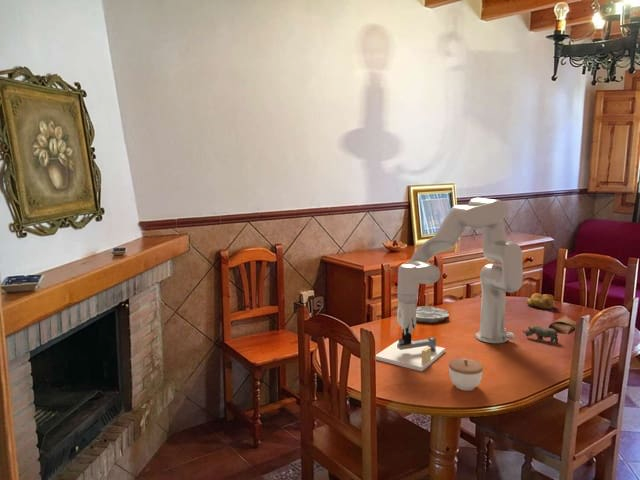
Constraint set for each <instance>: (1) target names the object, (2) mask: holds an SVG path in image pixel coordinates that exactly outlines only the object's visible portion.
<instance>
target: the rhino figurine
mask: <svg viewBox="0 0 640 480" xmlns="http://www.w3.org/2000/svg"><path fill="white" fill-rule="evenodd" d="M527 328H528V330H527V329H526V330H525V331H524V329H523V330H522V332H523V333H524V335H526V337H531V336H533V335H534V334H535V335H536V337H537V339H536V340H535V341H536V342H540V341H543V340H544V338H545V339H547V338H549V339H550V341H548V344H549V345H553V344H559V338H558V333H557V331H556V330H555V329H551V328H549V327H542V326H540V325H535V326H531V325H529V326H528V327H527Z"/></svg>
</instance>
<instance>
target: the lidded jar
mask: <svg viewBox="0 0 640 480" xmlns="http://www.w3.org/2000/svg"><path fill="white" fill-rule="evenodd" d="M483 370H484V366H483V364H482V363H481V362H480V361H477V360H475V359H471V358H468V357H467V358H465V357H459V358H458V357H457V358H454V359H451V360H450V361H448V372H449V378H450V380H451V382H452V384H453V385H454V387H456V388H457V389H458V390H461V391H467V392H469V391H473V390H474V389H475V388H476V387H477V386H478V385H480V383H481V381H482V377H483Z"/></svg>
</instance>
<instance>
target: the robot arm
mask: <svg viewBox="0 0 640 480" xmlns="http://www.w3.org/2000/svg"><path fill="white" fill-rule="evenodd" d="M508 209H509V208H508V205H507V204H506V202H504V201H503V200H500V199H496V198H495V199H493V198H485V197H474V198H472V199H470V200H469V201H468V204H467V205H464V204H457V205H454V206H452V207H451V208H450V210H449V211H448V212H447V214H446V216H445V218H444V219H443V221H442V222H441V224H440V226H439V227H438V229H437V230H436V232H435V234H434V235H433V236H432V237H430V238H429V239H427V240H426V241H425V242H424V243H422V244H421V245H420V246H419V247H418V248H416V250H415V252H414V253H413V255H412V256H411V258H410V260H409V262H408V263H403V264H401V265H399V266H398V269H397V270H398V271H397V313H396V321H397V324H398V325H399V326H400V327H401V332H402V333H401V338H402V339H404V343H405V342H411V341H412V335H413V332H414V331H413V330H414V329H416V327H417V320H416V309H417V303H418V302H419V301H418V300H419V284H421V285H423V284H424V285H425V284H426V285H427V284H428V285H431V284H434V283H436V282H438V281H439V279H440V278H441V271H440V269H439V267H437V266H436V265H435V264H433V263H429V261H430V260H431V259H432V258H433V257H434V256H435V255H437V254H439V253H441V252H445V251H447V250H451V249H453V248H454V247H455V246H456V244H457V243H458V241H459V239H460V237H461V236H462V235H463V232H464V231H465V230H466V229H471V230H478V229H482V231H481V232H482V251H483V252H482V253H483V257H484V258H485V259H486V260H487V261H490V262H493V263H487V264H485V265H484V266H482V268H481V269H480V273H479V280H480V286H481V300H480V301H481V302H480V303H481V304H480V320H479V321H480V322H479V324H480V325H479V331H478V332H476V333H475V338H476V339H477V340H479V341H481V342H484V343H488V344H503V343H506V342H507V341H508V339H510V340H515V337H516V336H515V334H514V333H513V332H508V331H507V328H506V327H505V322H506V304H507V298H506V297H507V296H506V292H507V293H516V292H517V291H519V289H521V286H522V284H523V275H524V274H523V272H524V270H523V265H524V264H523V251H522V249H521V247H520V246H519V244H517V242H514V241H511V240H507V239H506V231H505V229H506V228H505V224H504V223H505V222H504V219H505V218H506V217H507V215H508V212H509V211H508Z"/></svg>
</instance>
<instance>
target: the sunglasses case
mask: <svg viewBox="0 0 640 480" xmlns="http://www.w3.org/2000/svg"><path fill="white" fill-rule="evenodd" d="M576 323H578V322H577V321H575V320H573V319H572V318H570V317H568V316H567V314H564V315H563V316H561V317H560V318H558V319H556V320H555V321H553V322H552V323H550V324H549V325H548V328H551V329H555V330H556V331H557V334H563V335H567V336H568V335H569V334H570V333H571V332H573V330H575V329H576V328H575V326H576Z"/></svg>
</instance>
